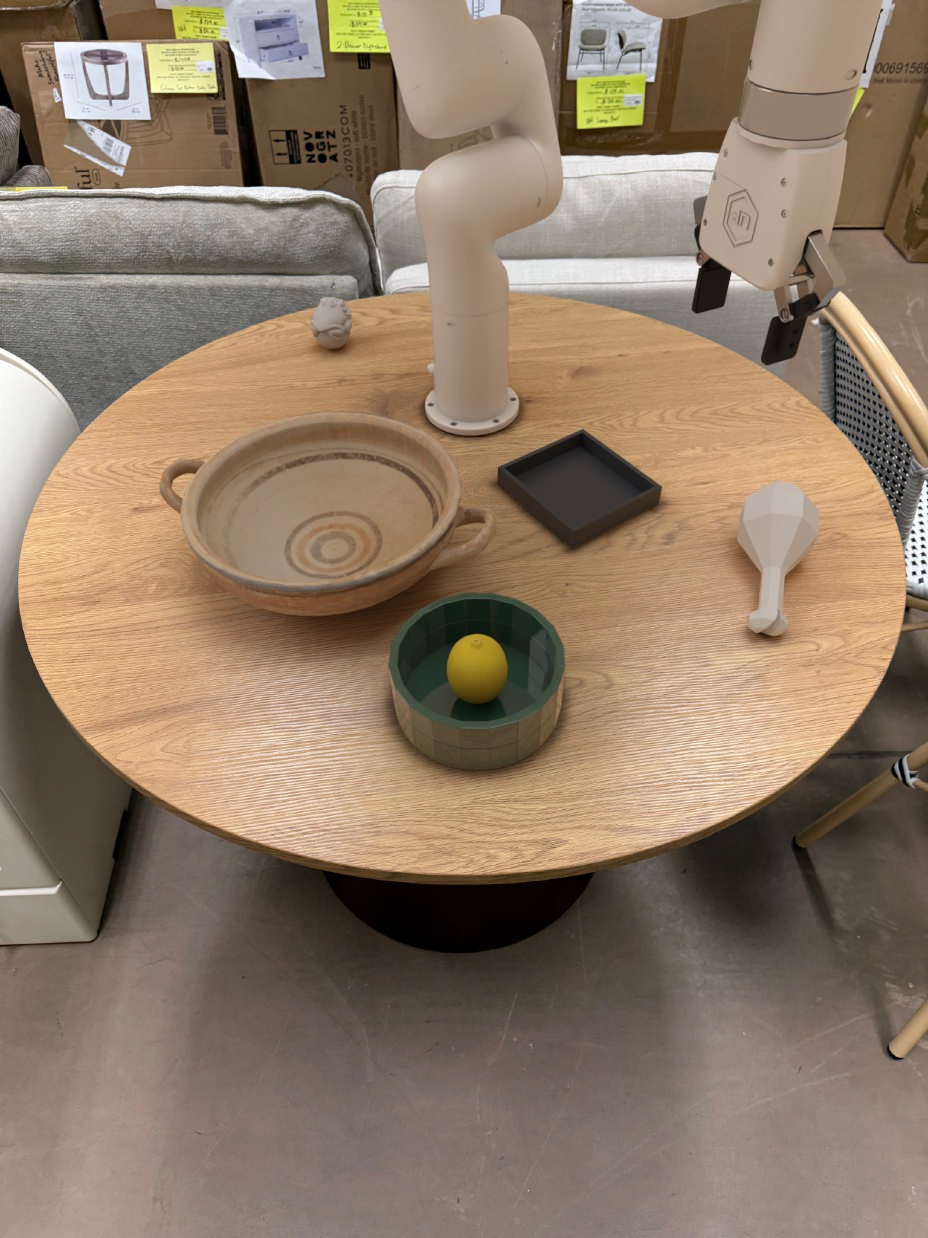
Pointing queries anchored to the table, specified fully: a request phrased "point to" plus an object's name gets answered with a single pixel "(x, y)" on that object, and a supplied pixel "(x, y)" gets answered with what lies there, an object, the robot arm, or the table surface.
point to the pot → (488, 727)
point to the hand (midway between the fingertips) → (741, 333)
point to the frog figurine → (331, 322)
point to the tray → (578, 487)
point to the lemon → (477, 669)
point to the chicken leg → (776, 545)
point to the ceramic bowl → (325, 512)
